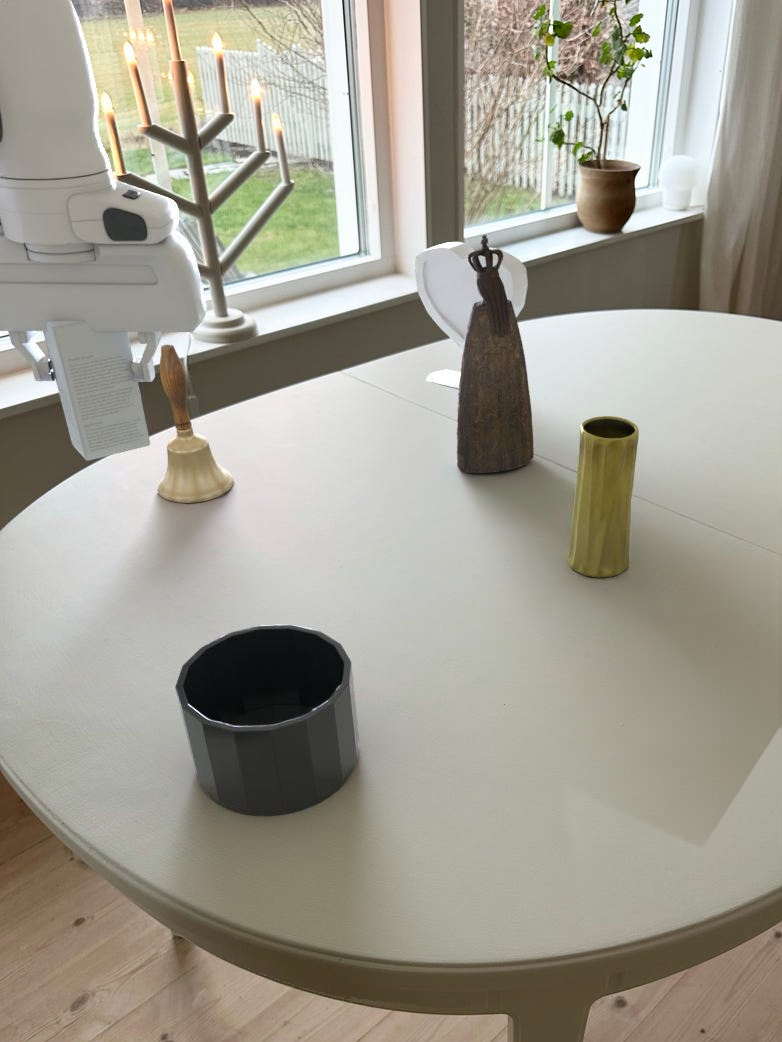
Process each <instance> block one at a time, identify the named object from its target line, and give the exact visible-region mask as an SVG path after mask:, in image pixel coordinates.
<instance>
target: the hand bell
mask: <svg viewBox="0 0 782 1042" xmlns="http://www.w3.org/2000/svg"><path fill="white" fill-rule="evenodd" d="M186 373H187V372H186V369H185V366H184V364H183V362H182V360H181V358H180V356H179V355H178V353H177V350H176V348H175V346H174V345H173V344H172V343H171V344H170V343H167V344H162V345H161V346H160V359H159V376H160V380H161V384H162V388H163V390H164V392H165V395H166V397H167V398H168V400H169V403H170V405H171V409H172V413H173V420H174V425H175V426H174V427H175V428H176V436H175V437H173V438H171V439H170V440H169V441H168V443H167V444H166V452H167V453H166V454H167V467H166V471H165V474H164V476H163V477H162V478H161V480H159V481H160V482H159V484H158V487H157V492H158V495H159V496H160V497H161V498H163V499H165V500H166V501H169V502H174V503H179V504H181V503H182V504H193V503H202V502H206V501H210V500H213V499H216V498H219V497H220V496H223V495H224V494H225V493H227V492H229V491H230V489H232V487H233V486H234V482H235V481H234V477H233V476H232V475H231V473H230V472H229V471H228V470H226V469H225V468H223V467H222V466H221V465H220V464H219V463H218V462H217V460H216V458H215V456H214V453H213V451H212V448H211V446H210V443H209V440H208V438H206V436H204V435H201V434H198V433H194V430H193V427H192V426H193V423H192V421H191V418H190V414H189V409H188V403H187V399H188V378H187V374H186Z"/></svg>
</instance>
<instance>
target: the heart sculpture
mask: <svg viewBox="0 0 782 1042" xmlns="http://www.w3.org/2000/svg"><path fill="white" fill-rule="evenodd" d="M489 249H492V250H493V249H494V250H495V249H497V248H496V247H489ZM500 250H501V251H502V252H503V260H502V263H501V265H500V268H499V269H498V271H499V276H500V278H501V280H502V282H503V285H504V288H505V292H506V296H507V300H511V301H512V305H513V309H514V312H515V316H516V319H517V318H518V316H519V315H520V313H521V311H522V310H523V308H524V307H525V304H526V299H527V293H528V286H529V281H528V271H527V268H526V266H525V265H524V263H523V262H522V261H521V260H520V259H519V258H518V257H515V256H514V255H512V254H511V253H510V252H507V251H505V250H502V249H500ZM473 251H475V249H474V248H473V247H472V246H470V245H469V244H468V243H465V242H461V241H452V242H451V241H450V242H449V241H448V242H444V243H442V244H437V245H435V246H432V247H429V248H427V249H424V250H421V251H420V252H419V253H418V254H417V255H416V256H415V262H414V263H415V265H414V278H415V284H416V289H417V294H418V296H419V298H420V300H421V303H422V304H423V307H424V309H425V311H426V312H427V314H428V315H429V317H431V320H432V321H434V322H435V324H436V325H437V326H438V327H439V329H440V330H441V331H442V332H443V333H444V334H446V336H448V337H449V338H450V339H451V340H452V342H454V343H455V345H457V346H458V347H459V348H460V349H461V357H462V356H463V350H464V344H465V338H466V333H467V327H468V323H469V318H470V314H471V310H472V306H473V304H474V303H476V302H479V301H482V300H483V298H482V297H481V296H480V294H479V293H478V290H477V286H476V279H477V277H476V274H477V272H476V271H474V269H473V268H472V267H471V266H470V264H469V262H468V254H470V253H471V252H473ZM478 257H479V261H480V263H481V265H482V267H486V260H485V257H484V256H478ZM471 261H472V257H471ZM472 263H473V262H472ZM497 263H498V256H497V255H496V254H493V266H495V265H496V264H497ZM460 374H461V372H458V371H454V370H451V369H443V370H439V371H434V372H432V373H430V374H429V375H428V376H427V378H426V381H427V382H431V383H434V384H439V385H442V386H446V387H451V388H455V389H458V390H459V383H460Z"/></svg>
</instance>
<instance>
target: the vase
mask: <svg viewBox="0 0 782 1042" xmlns="http://www.w3.org/2000/svg"><path fill="white" fill-rule="evenodd" d="M639 432H640V430H639V428H638V426H637V424H635V423H634V422H633V421H631V420H629V419H626V418H623V417H619V416H614V415H613V416H611V415H604V416H603V415H601V416H595V417H591V418H588V419H585V420H584V421H583V422H582V423H581V425H580V431H579V449H578V460H577V461H578V462H577V471H576V482H575V491H574V492H575V494H574V502H573V510H572V518H571V527H570V535H569V547H568V548H569V549H568V554H567V557H566V561H567V564H568V565H569V567H570V568H571V569H572V570H574V571H575V572H577V573H578V574H581V575H584V576H586V577H591V578H598V579H599V578H602V579H603V578H611V577H616V576H618V575H620V574H622V573H624V572H625V571H626V570H627V569H628V568H629V566H630V546H631V545H630V543H631V541H630V540H631V522H632V521H631V518H632V517H631V516H632V498H633V492H634V491H633V490H634V481H635V472H636V471H635V470H636V464H637V463H636V461H637V453H638V444H639V437H640V433H639Z"/></svg>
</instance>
